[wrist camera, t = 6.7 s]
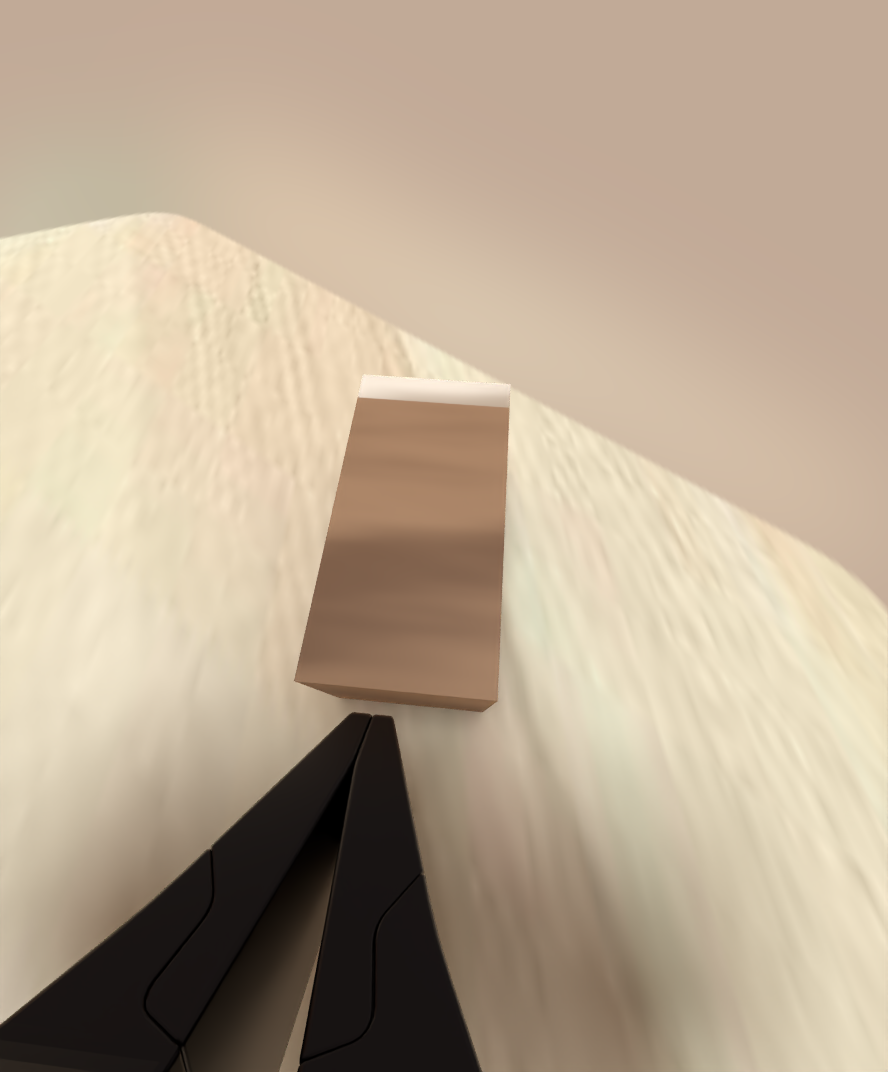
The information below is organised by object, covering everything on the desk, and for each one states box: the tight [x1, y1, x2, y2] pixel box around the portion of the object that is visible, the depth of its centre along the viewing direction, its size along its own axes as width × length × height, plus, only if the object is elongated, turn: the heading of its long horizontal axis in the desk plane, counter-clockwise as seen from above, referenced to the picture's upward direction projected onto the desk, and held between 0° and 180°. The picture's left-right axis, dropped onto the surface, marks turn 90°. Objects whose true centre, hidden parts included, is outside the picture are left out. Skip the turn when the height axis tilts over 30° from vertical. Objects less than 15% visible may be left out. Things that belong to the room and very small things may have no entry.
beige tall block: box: [294, 375, 510, 712], centre depth 15 cm, size 5×5×10 cm
